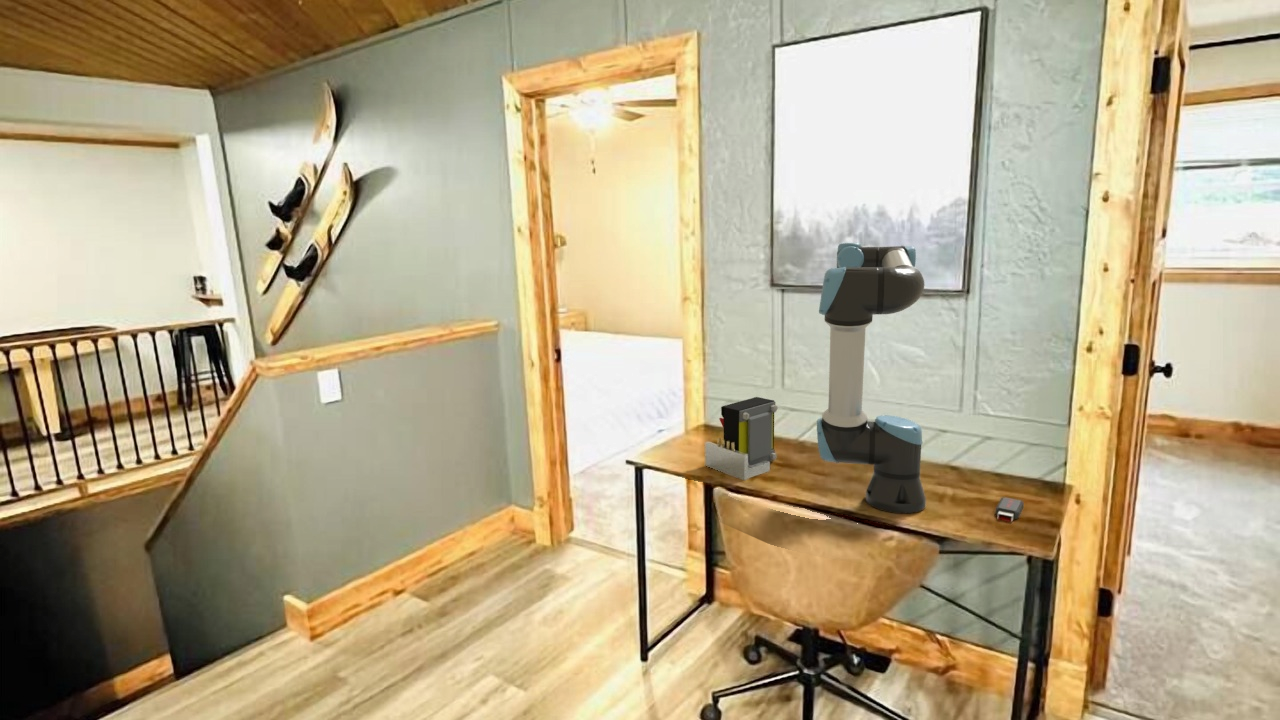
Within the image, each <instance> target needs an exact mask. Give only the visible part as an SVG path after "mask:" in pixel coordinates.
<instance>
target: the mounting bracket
mask: <svg viewBox="0 0 1280 720" xmlns="http://www.w3.org/2000/svg"><path fill="white" fill-rule="evenodd" d="M704 454H705V455H704V459H705V460H704V463H705V465H704V466H705V467H706V466H707V467H706V468H708V467H710V468H709V469H711V468H713V469H712V470H714V469H715V470H714V471H717V470H718V471H717V472H720V471H721V472H720V473H722V472H723V473H722V474H725V475H728V476H730V477H734V478H736V479H739V480H741V481H747V480H748V479H750V478H753V477H756V476H759V475H761V474H764V473H768V472H770V471H771V469H770V468H771V461H770V462H769V461H763V462H760V463H757V464H754V465H751V466H748V454H746V453H743V452H740V451H737V450H734V442H732V443H731V448H730V441H727V447H725V440H724V438H723V439H722V440H721V438H720V437H718V438H717V443H714V442H711V441H705V442H704Z"/></svg>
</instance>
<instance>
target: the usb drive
mask: <svg viewBox="0 0 1280 720" xmlns="http://www.w3.org/2000/svg"><path fill="white" fill-rule="evenodd" d="M1023 509H1024V501H1023V500H1021V499H1015V498H1010V497H1006V496H1004V497H1001V498H1000V500H999V502H998V504H997V505H996V507H995V513H996V514H995V515H996V516H997V518H996V519H997V520H1000V519H1002V520H1001V521H1005V520H1006V521H1005V522H1010V521H1011V522H1010V523H1013V520H1014V519H1015V520H1018V519H1019V517H1020V516H1021V513H1022V511H1023Z"/></svg>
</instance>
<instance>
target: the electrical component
mask: <svg viewBox="0 0 1280 720" xmlns="http://www.w3.org/2000/svg"><path fill="white" fill-rule="evenodd" d="M720 409H721V410H720V415H721V416H722V417H719V422H720V425H721V426H722V428H723V439H724V440H725V447H727V441H730V448H731V443H732V442H734V450H737V451H740V452H743V453H746V454H748V466H751V465H754V464H757V463H760V462H763V461H769V462H770V463H771V462H772V461H775V460H777V457H778V455H777V453H776V452H775V451H776V449H775V413H777V411H778V406H777V404H776V401H775V399H774V400H773V399H768V398H763V397H758V396H755V397H751V398H747V399H744V400H740V401H737V402H733V403H730V404H726V405H722V406H721V408H720Z"/></svg>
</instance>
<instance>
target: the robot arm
mask: <svg viewBox="0 0 1280 720" xmlns="http://www.w3.org/2000/svg"><path fill="white" fill-rule="evenodd" d="M916 254H917V253H916V248H915V247H914V246H910V245H909V246H907V245H901V246H899V245H897V246H863V245H862V244H861V243H857V242H844V243H839V245H837V252H836V267H833V268H832V267H831V268H829V269H827V270H826V271H825V273H824V277H823V282H822V289H821V296H820V300H819V301H820V302H819V308H818V309H819V310H818V314H820V315H823V316H824V322H825V323H826V324H827V325H828V326H829V327H830V329H829V330H830V333H829V334H830V337H829V368H828V369H829V372H828V373H829V374H828V376H829V377H828V407H827V409H826V410H824V411H823V413H822V418H818V419H817V420H816V434H817V436H816V437H817V438H816V439H817V445H818V453H819V456H820V458H821V459H822V460H823V461H825V462H829V463H836V464H840V463H842V464H857V465H870V466H871V465H872V466H873V473H872V476H871V478H870V481H869V483H868V486H867V488H866V491H865V501H866V503H867V504H868V505H869V506H871V507H873V508H874V509H878V510H880V511H884V512H887V513H895V514H913V512H915V513H919V512H921V511H923V510H925V509H926V503H927V502H926V501H927V497H926V495H925V491H924V488H923V485H922V482H921V481H922V480H921V462H922V461H921V459H922V445H923V431H922V427H921V426H920V425H919V424H918V423H916V422H915V421H913V420H910V419H908V418H905V417H901V416H895V415H888V414H887V415H885V414H884V415H882V414H881V415H877V416H876V418H875V419H874V421H868V415H867V413H865V412H864V411H863V409H862V408H863V407H862V406H863V389H864V388H863V387H864V369H865V368H864V367H865V345H866V343H865V342H866V328H867V327H868V326H869V325H870V324H871V323H873V315H891V314H896V313H899V312H902V311H904V310H906V309H908V308H910V307H912V305H914V304H915V303H916V302H917V301H918V300H919V299H920V298H921V297H922V294H923V292H924V290H925V279H924V276H923V274H922V273H921V271H920V270H919V269H918V268H917V267H916V261H917V260H916V259H917V258H916V257H917V255H916ZM918 511H919V512H918Z"/></svg>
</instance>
